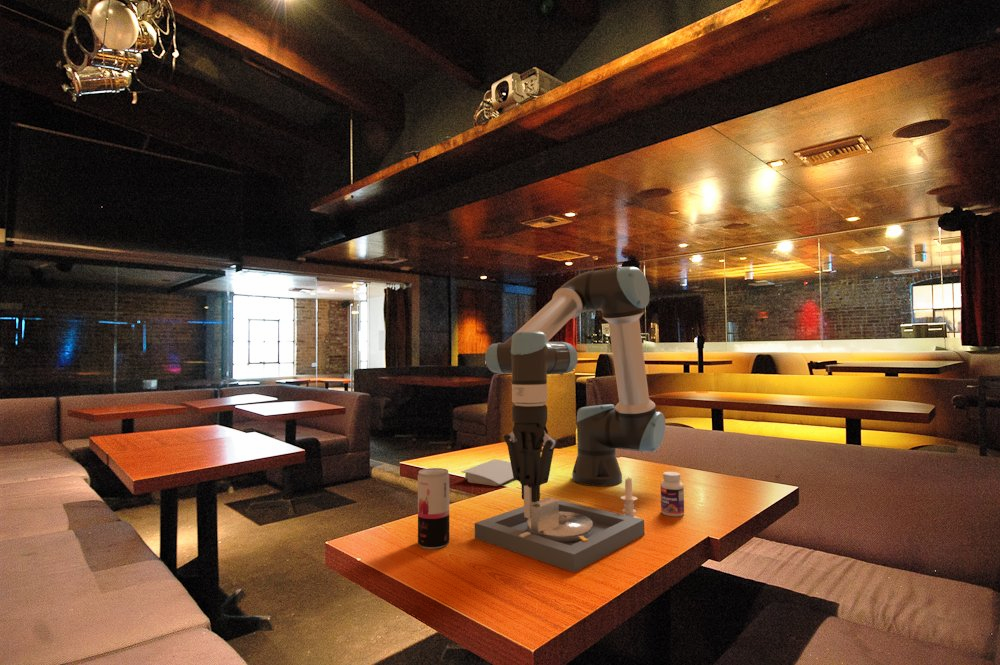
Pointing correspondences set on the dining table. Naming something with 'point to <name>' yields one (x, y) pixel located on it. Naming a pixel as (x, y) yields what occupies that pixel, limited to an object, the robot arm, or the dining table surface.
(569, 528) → the dial
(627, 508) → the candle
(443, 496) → the beverage can
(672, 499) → the pill bottle
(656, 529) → the dining table surface
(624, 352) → the robot arm
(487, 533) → the panel
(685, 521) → the dining table surface
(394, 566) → the dining table surface
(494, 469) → the book
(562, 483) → the dining table surface
